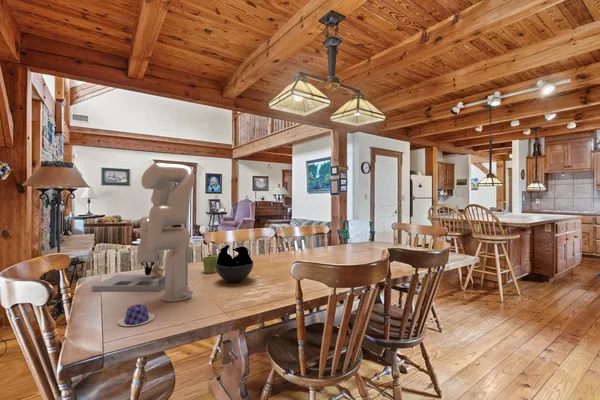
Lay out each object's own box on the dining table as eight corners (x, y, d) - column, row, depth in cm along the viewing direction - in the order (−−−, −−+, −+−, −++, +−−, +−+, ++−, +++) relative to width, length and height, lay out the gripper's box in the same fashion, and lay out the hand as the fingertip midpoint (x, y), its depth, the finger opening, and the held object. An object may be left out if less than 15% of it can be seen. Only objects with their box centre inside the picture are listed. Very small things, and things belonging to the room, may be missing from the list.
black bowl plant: (257, 284, 154) (257, 248, 154) (217, 288, 147) (217, 250, 146) (249, 274, 173) (249, 242, 172) (213, 278, 165) (213, 244, 165)
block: (161, 275, 160) (165, 266, 161) (159, 278, 156) (162, 269, 156) (152, 272, 160) (155, 264, 160) (149, 275, 155) (153, 266, 155)
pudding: (159, 321, 109) (159, 307, 109) (121, 331, 101) (121, 316, 101) (150, 311, 118) (150, 298, 118) (115, 320, 110) (115, 306, 110)
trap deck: (176, 278, 164) (176, 268, 164) (160, 290, 143) (160, 279, 143) (117, 278, 162) (117, 268, 162) (91, 291, 141) (91, 279, 141)
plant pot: (201, 270, 181) (201, 256, 181) (217, 269, 184) (217, 255, 184) (201, 274, 172) (201, 259, 172) (218, 273, 175) (218, 259, 175)
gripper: (165, 239, 161) (165, 272, 161) (137, 238, 160) (137, 272, 160) (159, 241, 153) (159, 276, 153) (130, 241, 152) (130, 276, 153)
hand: (148, 274), depth 157 cm, fingers closed
